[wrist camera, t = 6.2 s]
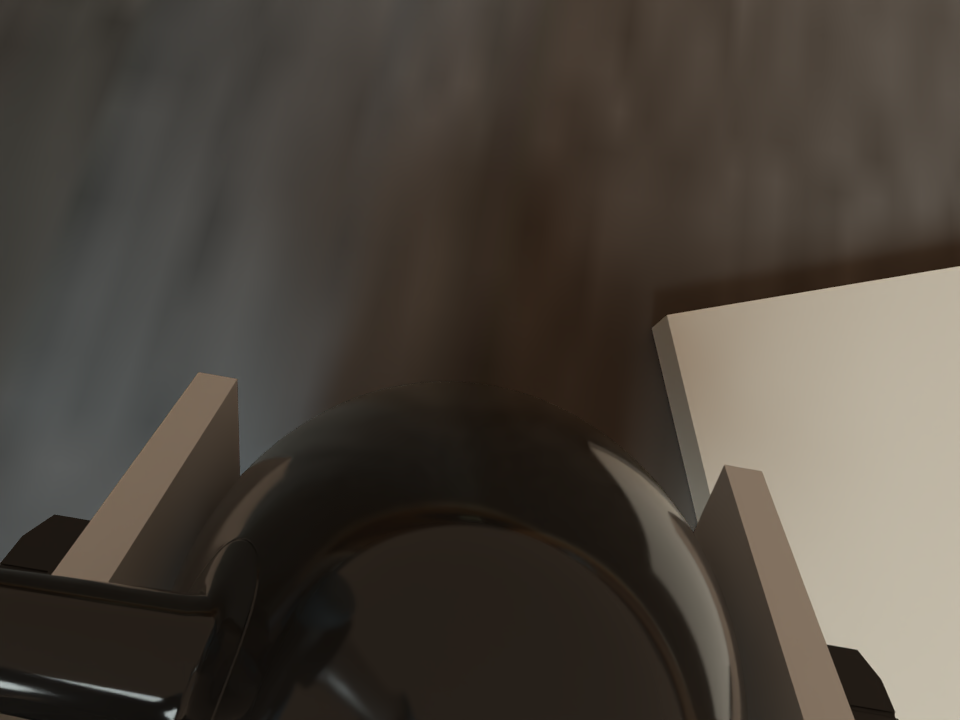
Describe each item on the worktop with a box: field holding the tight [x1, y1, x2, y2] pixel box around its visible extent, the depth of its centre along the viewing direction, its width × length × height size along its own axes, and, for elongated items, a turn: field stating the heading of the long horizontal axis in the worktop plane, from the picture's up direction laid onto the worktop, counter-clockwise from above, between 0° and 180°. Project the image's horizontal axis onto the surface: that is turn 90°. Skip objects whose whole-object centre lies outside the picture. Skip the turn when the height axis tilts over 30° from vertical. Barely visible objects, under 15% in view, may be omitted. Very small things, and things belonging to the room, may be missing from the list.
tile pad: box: [652, 266, 960, 720], centre depth 21 cm, size 13×13×2 cm
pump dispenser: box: [0, 381, 748, 720], centre depth 13 cm, size 10×10×15 cm
